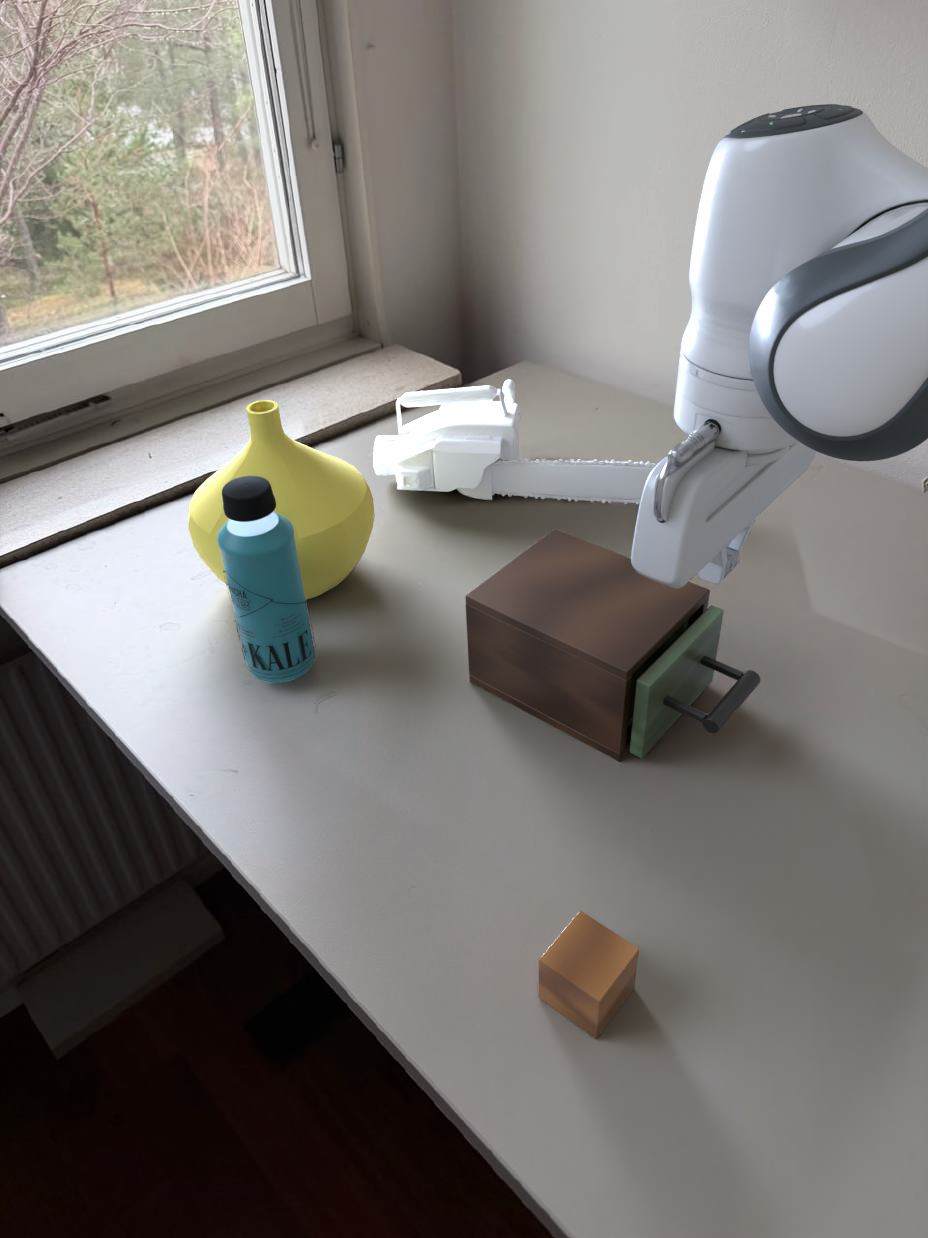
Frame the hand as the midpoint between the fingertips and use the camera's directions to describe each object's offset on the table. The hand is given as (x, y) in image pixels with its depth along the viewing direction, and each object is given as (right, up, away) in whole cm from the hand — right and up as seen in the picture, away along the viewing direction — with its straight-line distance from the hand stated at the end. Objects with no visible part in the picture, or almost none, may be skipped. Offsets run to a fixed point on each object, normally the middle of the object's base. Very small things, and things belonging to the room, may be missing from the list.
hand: (718, 572), depth 68 cm
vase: (-36, +1, +31) cm, 48 cm away
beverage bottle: (-35, -9, +18) cm, 40 cm away
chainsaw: (-11, +13, +44) cm, 47 cm away
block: (-10, -27, -7) cm, 30 cm away
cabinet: (-8, -9, +16) cm, 20 cm away
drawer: (-4, -10, +13) cm, 17 cm away
